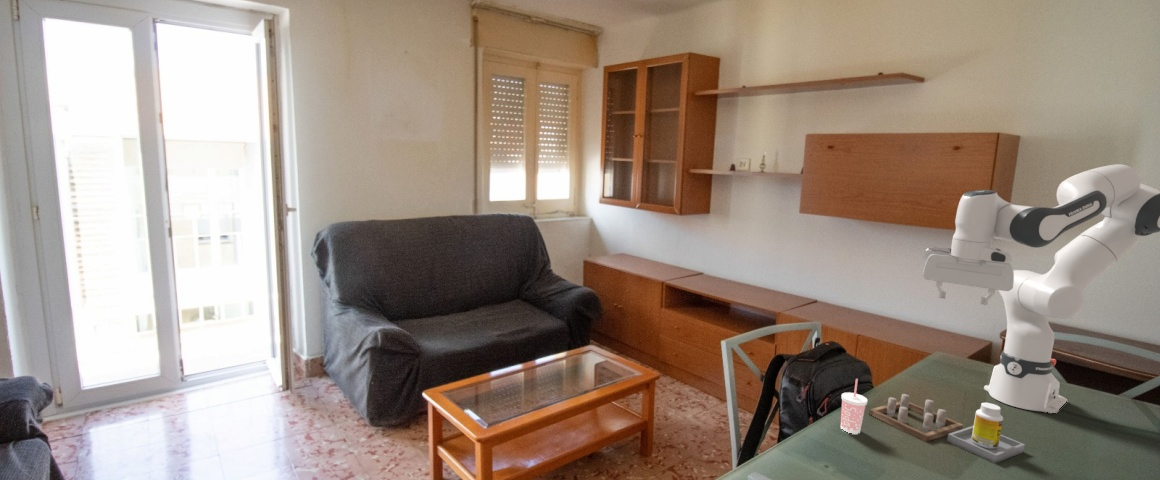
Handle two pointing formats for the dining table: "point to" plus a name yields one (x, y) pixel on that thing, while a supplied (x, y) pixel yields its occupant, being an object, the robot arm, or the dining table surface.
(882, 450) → the dining table surface
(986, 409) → the supplement bottle
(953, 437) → the tray
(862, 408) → the beverage cup
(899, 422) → the wooden peg board
